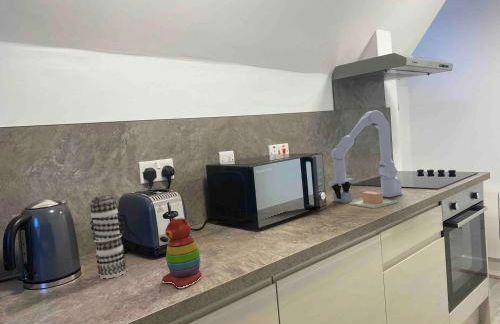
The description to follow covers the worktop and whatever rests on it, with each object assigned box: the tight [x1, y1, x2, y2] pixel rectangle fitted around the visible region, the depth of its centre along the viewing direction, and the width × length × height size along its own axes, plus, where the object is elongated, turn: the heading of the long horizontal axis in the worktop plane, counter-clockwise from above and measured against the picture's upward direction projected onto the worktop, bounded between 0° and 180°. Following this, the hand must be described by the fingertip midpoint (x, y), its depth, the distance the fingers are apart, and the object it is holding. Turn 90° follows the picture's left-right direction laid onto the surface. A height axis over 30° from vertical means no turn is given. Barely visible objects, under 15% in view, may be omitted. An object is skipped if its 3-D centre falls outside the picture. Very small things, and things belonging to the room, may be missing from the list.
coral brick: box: [361, 190, 384, 204], centre depth 177 cm, size 4×9×4 cm, turn 26°
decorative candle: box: [88, 194, 128, 275], centre depth 118 cm, size 9×9×25 cm
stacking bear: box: [161, 217, 203, 287], centre depth 106 cm, size 11×10×18 cm
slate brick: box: [332, 190, 353, 204], centre depth 191 cm, size 4×9×4 cm, turn 26°
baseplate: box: [348, 198, 399, 209], centre depth 177 cm, size 15×16×1 cm
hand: (342, 198), depth 191 cm, fingers closed on slate brick, 4 cm apart
